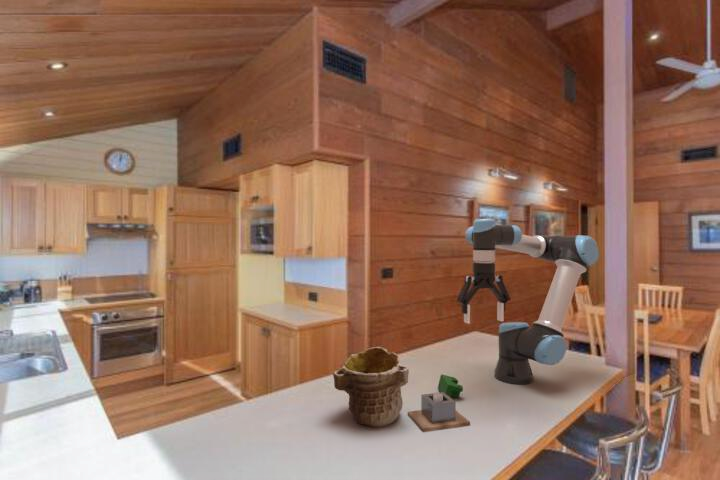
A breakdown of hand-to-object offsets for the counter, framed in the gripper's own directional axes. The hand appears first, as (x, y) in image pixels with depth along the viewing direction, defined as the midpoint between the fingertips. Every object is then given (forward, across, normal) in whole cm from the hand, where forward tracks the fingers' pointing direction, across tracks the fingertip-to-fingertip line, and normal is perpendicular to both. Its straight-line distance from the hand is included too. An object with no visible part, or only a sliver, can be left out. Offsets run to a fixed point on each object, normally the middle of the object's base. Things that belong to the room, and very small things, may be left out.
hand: (483, 321), depth 140 cm
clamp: (+29, +8, -9) cm, 32 cm away
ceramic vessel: (+29, +43, +1) cm, 52 cm away
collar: (+28, +22, +8) cm, 36 cm away
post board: (+29, +22, +8) cm, 37 cm away
